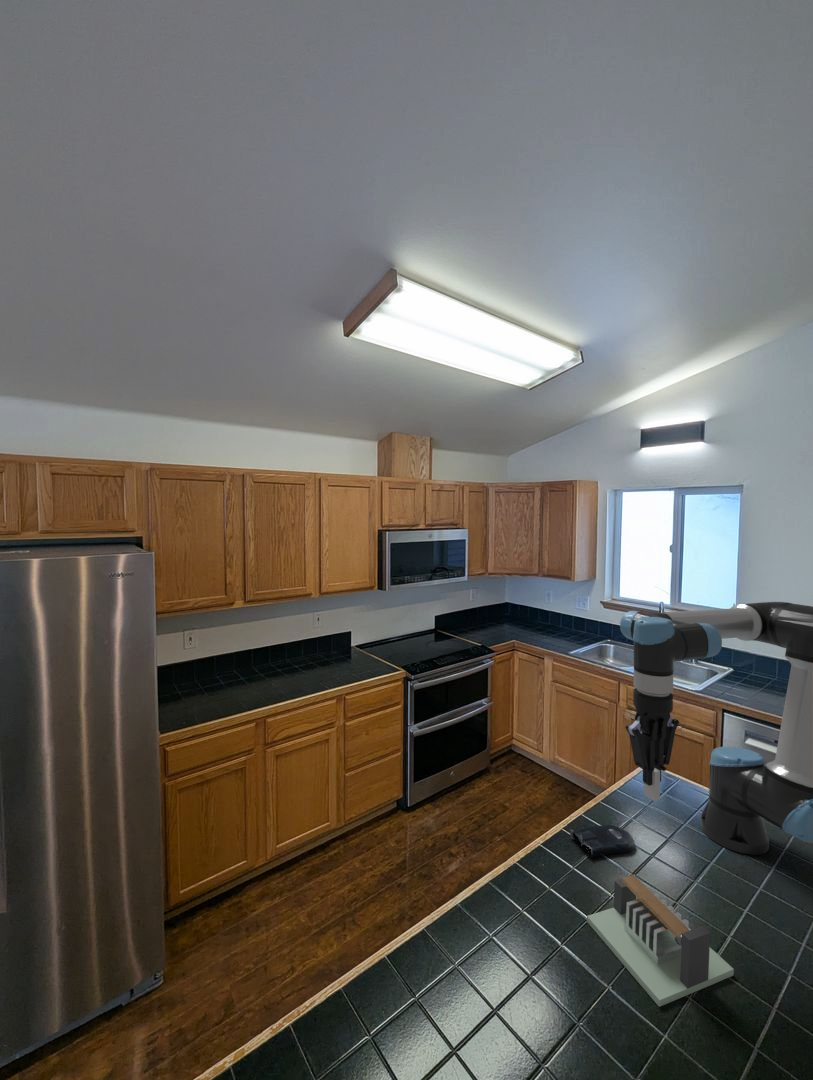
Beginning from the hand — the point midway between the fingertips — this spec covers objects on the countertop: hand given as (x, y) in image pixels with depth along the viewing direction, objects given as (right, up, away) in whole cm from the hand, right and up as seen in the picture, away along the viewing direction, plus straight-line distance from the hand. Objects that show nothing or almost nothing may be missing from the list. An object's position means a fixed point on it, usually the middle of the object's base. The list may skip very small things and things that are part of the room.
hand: (651, 797), depth 100 cm
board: (-4, -25, -9) cm, 26 cm away
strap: (-4, -17, -9) cm, 20 cm away
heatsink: (-4, -23, -9) cm, 25 cm away
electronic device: (-1, -24, +21) cm, 32 cm away
